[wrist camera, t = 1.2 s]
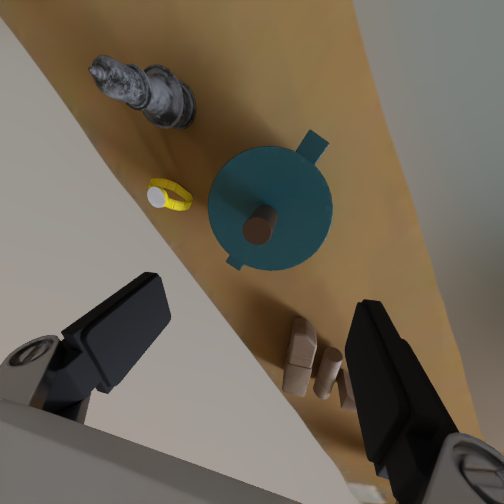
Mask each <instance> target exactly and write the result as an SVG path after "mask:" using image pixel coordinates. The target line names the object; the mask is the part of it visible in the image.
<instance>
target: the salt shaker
mask: <svg viewBox="0 0 504 504" xmlns="http://www.w3.org/2000/svg"><path fill="white" fill-rule="evenodd" d="M88 70H89V71H90V73H91V74H92V76H93V78H94V81H95V83H96V85H97V86H98V88H99V89H100V90H101V91H102V92H103V93H104V94H105V95H107V96H109V97H110V98H113V99H116V100H120V101H123V102H126V104H127V105H128V106H130V107H131V108H133V109H134V110H139V111H140V110H142V112H143V114H144V115H145V117H146V118H147V119H148V121H150V122H151V123H152V124H153V125H155V126H157V127H158V128H163V129H166V128H171V127H173V128H175V129H185V128H187V127H188V126H189V125H190V124H191V123H192V122H193V120H194V117H195V113H196V103H195V98H194V96H193V93H192V91H191V90H190V88H189V87H188V86H187V85H186V84H185V83H184V82H182V81H180V80H177V78H176V77H175V75H174V74H173V73H172V72H171V71H170V70H169V69H167V68H166V67H164V66H162V65H151V66H149V67H147V68H146V69H145V70H144V71H143V70H142V69H141V68H140V67H138V66H136V65H135V64H126V65H124V64H123V63H121V62H119V61H117V60H115V59H113V58H111V57H109V56H104V55H100V56H98V57H97V58H95V59H94V61H93V63H92V66H91V67H89V68H88Z"/></svg>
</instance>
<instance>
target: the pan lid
mask: <svg viewBox="0 0 504 504" xmlns="http://www.w3.org/2000/svg"><path fill="white" fill-rule="evenodd" d="M208 214H209V220H210V224H211V227H212V230H213V233H214V235H215V237H216V238H217V240H218V242H219V243H220V245H221V246H222V247H223V248H224V249H225V251H226V252H228V253H229V254H230V255H231V256H232V257H233V258H235V259H236V260H238V261H239V262H241V263H243V264H245V265H247V266H249V267H253V268H256V269H261V270H269V271H272V270H283V269H287V268H291V267H294V266H296V265H298V264H300V263H302V262H304V261H305V260H307V259H308V258H310V257H311V256H312V255H313V254H314V253H315V252H316V251H317V250H318V249H319V248H320V246H321V245H322V244H323V242H324V240H325V239H326V237H327V234H328V232H329V229H330V226H331V222H332V215H333V204H332V197H331V193H330V190H329V187H328V185H327V183H326V181H325V179H324V177H323V175H322V174H321V172H320V171H319V170H318V169H317V168H316V167H315V165H314V164H313V163H311V162H310V161H309V160H308V159H307V158H305V157H304V156H302V155H300V154H299V153H297V152H294V151H292V150H289V149H286V148H282V147H275V146H262V147H256V148H252V149H249V150H246V151H244V152H242V153H240V154H238V155H236V156H235V157H233V158H232V159H231V160H229V161H228V162H227V163H226V164H225V165H224V166H223V167H222V169H221V170H220V171H219V173H218V174H217V176H216V178H215V180H214V181H213V184H212V187H211V190H210V194H209V200H208Z"/></svg>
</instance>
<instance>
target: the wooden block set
mask: <svg viewBox="0 0 504 504" xmlns="http://www.w3.org/2000/svg"><path fill="white" fill-rule="evenodd" d="M316 349H317V339H316V330H315V328H314V327H313V326H312V325H311V324H310V323H309V322H308V321H307V320H306V319H302V318H297V317H296V318H294V322H293V328H292V333H291V339H290V344H289V345H288V349H287V355H286V361H285V367H284V375H283V386H282V390H283V391H284V392H286V393H290V394H294V395H297V396H301V397H304V396H305V394H306V390H307V386H308V383H309V379H310V375H311V372H312V364H313V360H314V356H315V353H316ZM342 360H343V356H342V354H341V352H340V351H339V350H338V349H336V348H334V347H327V348H326V349H325V350H324V353H323V356H322V360H321V363H320V367H319V370H318V373H317V377H316V380H315V383H314V387H313V389H314V392H315V394H316V395H317V396H318V397H319V398H321V399H327V398H328V397H329V395H330V393H331V390H332V387H333V384H334V382H335V379H336V376H337V374H338V371H339V368H340V366H341V363H342ZM338 389H339V396H340V403H341V408H343V409H346V410H350V411H354V412H357V409H356V404H355V399H354V395H353V390H352V385H351V381H350V376H349V374H348V373H347V372H345V371H344V370H342V373H341V375H340V378H339V380H338Z"/></svg>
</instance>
